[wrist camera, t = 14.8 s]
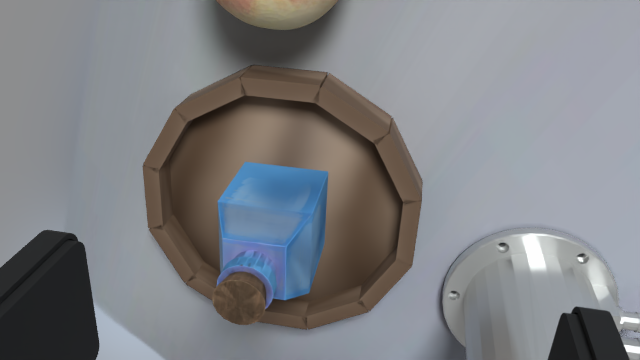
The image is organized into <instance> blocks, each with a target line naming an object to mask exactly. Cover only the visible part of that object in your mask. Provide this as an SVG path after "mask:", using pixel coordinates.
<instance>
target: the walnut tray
mask: <svg viewBox="0 0 640 360" xmlns="http://www.w3.org/2000/svg"><path fill="white" fill-rule="evenodd" d="M245 162H251V163H260V164H268V165H277V166H286V167H294V168H303V169H311V170H320V171H328V188H327V206H326V224H325V242H324V247H323V250H322V253H321V257H320V260H319V263H318V266H317V269H316V273H315V276H314V279H313V282H312V285H311V289H310V292H309V293H308V294H304V295H301V296H297V297H294V298H291V299H287V300H281V299H274V298H273V299H272V302H271V303H270V305H269V306H268V307H267V308H266V309H265V312H264V315H263V316H262V317H261V319H260V320H258V321H257V322H263V323H269V324H275V325H282V326H288V327H294V328H300V329H307V328H308V329H312V328H315V327H319V326H322V325H325V324H329V323H332V322H336V321H339V320H343V319H346V318H349V317H353V316H356V315H360V314H363V313H367V312H368V310H369V311H370V310H371V309H372V308H373V307H374V306H375V305H376V304H377V303H378V302H379V301H380V300H381V299H382V298H383V297H384V296H385V294H386V293H387V292H388V291H389V290H390V289H391V288H392V287H393V286H394V285H395V284H396V283H397V282H398V281H399V280H400V279H401V277H402V276H403V275H404V274H405V273H406V272H407V271H408V270H409V269H410V268H411V266H412V263H413V257H414V250H415V243H416V236H417V229H418V223H419V216H420V209H421V202H422V179H421V177H420V175H419V173H418V170H417V168H416V166H415V164H414V162H413V160H412V158H411V155H410V153H409V151H408V149H407V147H406V145H405V143H404V141H403V138H402V136H401V134H400V132H399V130H398V128H397V126H396V124H395V121H394V119H393V118H391V116H390V115H389V114H388V113H386V112H385V111H383V110H382V109H380V108H379V107H377V106H376V105H375V104H373V103H372V102H370V101H369V100H367V99H366V98H365V97H363V96H362V95H360V94H359V93H357V92H356V91H354V90H353V89H352V88H350V87H349V86H347V85H346V84H344V83H343V82H341V81H340V80H339V79H337V78H336V77H334V76H333V75H331V74H330V73H329V75H328V76H327V72H319V71H309V70H299V69H289V68H279V67H269V66H260V65H253V66H252V65H251V66H249V67H247V68H245V69H243V70H240V71H238V72H236V73H234V74H232V75H230V76H228V77H226V78H224V79H222V80H220V81H218V82H216V83H213V84H211V85H209V86H207V87H205V88H203V89H201V90H199V91H197V92H195V93H193V94H191V95H190V96H189V97H187V98H186V99H185V100H184V101H183V102H181V103H180V104H179V105H178V106H177V107H176V108H175V109H174V110H173V111H172V113H171V115H170V117H169V119H168V120H167V122H166V124H165V126H164V128H163V129H162V131H161V133H160V135H159V137H158V138H157V140H156V142H155V144H154V146H153V147H152V149H151V151H150V153H149V155H148V156H147V158H146V160H145V162H144V164H143V175H144V186H145V197H146V208H147V219H148V228H150V229H149V230H150V232H151V233H152V235H153V236H154V238H155V239H156V241H157V242H158V244H159V245H160V247H161V248H162V250H163V251H164V253H165V254H166V256H167V257H168V259H169V260H170V262H171V263H172V265H173V266H174V268H175V269H176V271H177V272H178V274H179V275H180V277H181V278H182V280H183V281H184V283H185V282H187V283H186V284H187V285H188V286H190V287H191V288H193V289H195V290H196V291H198V292H199V293H201V294H203V295H204V296H206V297H207V298H209V299H211V300H212V296H213V291H214V290H215V288H216V287H217V280H218V277H219V276H220V249H219V223H218V200H219V199H220V197H221V196H222V194H223V193H224V191H225V190H226V189H227V187H228V186H229V184H230V183H231V181H232V180H233V179H234V177H235V176H236V174H237V173H238V171H239V170H240V168H241V167H242V166H243V164H244V163H245Z"/></svg>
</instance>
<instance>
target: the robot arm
mask: <svg viewBox="0 0 640 360" xmlns="http://www.w3.org/2000/svg"><path fill="white" fill-rule="evenodd" d="M500 243H503V244H500ZM442 304H443V312H444V317H445V319H446V322H447V325H448V327H449V329H450V330H451V332H452V334H453V335H454V337H455V338H456V339H457V340H458V341H459V342H460V343H461V344H462V345H463V346H464V347H465V348H466V360H640V338H628V337H621V336H620V334H619V332H620V331H621V330H622V329H625V330H631V331H634V332H638V333H640V313H638V312H636V313H631V312H625V311H623V310H622V308H621V307H618V306H619V295H618V288H617V285H616V282H615V280H614V277H613V275H612V273H611V271H610V269H609V267H608V265H607V263H606V262H605V261H604V260H603V258H602V257H601V256H600V255H599V254H598V252H597V251H595V250H594V249H593V248H591V247H590V246H589V245H587V244H586V243H585V242H583V241H581V240H579V239H577V238H575V237H573V236H571V235H569V234H565V233H562V232H559V231H556V230H550V229H543V228H517V229H512V230H506V231H501V232H499V233H496V234H493V235H490V236H487V237H485V238H483V239H482V240H480V241H478V242H476V243H475V244H473V245H471V246H470V247H469V248H468V249H467V250H465V251H464V252H463V253H462V254H461V255H460V256H459V257H458V258H457V260H456V261H455V262H454V263H453V265H452V266H451V268H450V270H449V272H448V274H447V276H446V278H445V282H444V287H443V299H442ZM98 351H99V338H98V331H97V326H96V318H95V311H94V305H93V298H92V292H91V285H90V278H89V272H88V265H87V259H86V252H85V247H84V245H83V243H81V242H78V239H77V237H76V236H75V235H74V234H72V233H66V232H59V231H52V230H44V231H42V232H41V233H39V234H38V235H37V236H36V237H35V238H34V239H33V240H31V241H30V242H29V243H28V244H27V245H26V246H25V247H23V248H22V249H21V250H20V251H19V252H18V253H17V254H15V255H14V256H13V257H12V258H11V259H10V260H9V261H7V262H6V263H5V264H4V265H3V266H2V267H1V268H0V360H96V357H97V355H98Z"/></svg>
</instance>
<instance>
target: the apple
mask: <svg viewBox="0 0 640 360" xmlns="http://www.w3.org/2000/svg"><path fill="white" fill-rule="evenodd" d="M216 1H217V2H218V3H219V4H220V5H221V6H222V7H223V8H224V9H226V10H227V11H228V12H229V13H231V14H232V15H233V16H235V17H236V18H238V19H240V20H242V21H243V22H245V23H248V24H250V25H253V26H257V27H262V28H268V29H276V30H291V29H296V28H300V27H303V26H305V25H308V24H310V23H312V22H314V21H316V20H317V19H319V18H320V17H322V16H323V15H324V14H325V13H326V12H328V11H329V10H330V9H331V8H332V7H333V6H334V5H335V4H336V2H337V1H338V0H216Z"/></svg>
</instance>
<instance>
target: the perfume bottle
mask: <svg viewBox="0 0 640 360" xmlns="http://www.w3.org/2000/svg"><path fill="white" fill-rule="evenodd" d="M327 188H328V171H320V170H311V169H303V168H294V167H286V166H277V165H268V164H260V163H251V162H245V163H244V164H243V166H242V167H241V168H240V170H239V171H238V173H237V174H236V176H235V177H234V179H233V180H232V181H231V183H230V184H229V186H228V187H227V189H226V190H225V191H224V193H223V194H222V196H221V197H220V199H219V200H218V223H219V249H220V276H219V277H218V280H217V287H216V288H215V290H214V291H213V296H212V301H213V305H214V307H215V309H216V311H217V312H218V313H219V314H220V315H221V316H222V317H223V318H224V319H226V320H228V321H230V322H232V323H235V324H239V325H248V324H252V323H255V322H257V321H258V320H260V319H261V317H262V316H263V315H264V312H265V309H266V308H267V307H268V306H269V305H270V303H271V302H272V299H273V298H274V299H281V300H287V299H291V298H294V297H297V296H301V295H304V294H308V293H309V292H310V289H311V285H312V282H313V279H314V276H315V273H316V269H317V266H318V263H319V260H320V257H321V253H322V250H323V247H324V242H325V224H326V206H327Z"/></svg>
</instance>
